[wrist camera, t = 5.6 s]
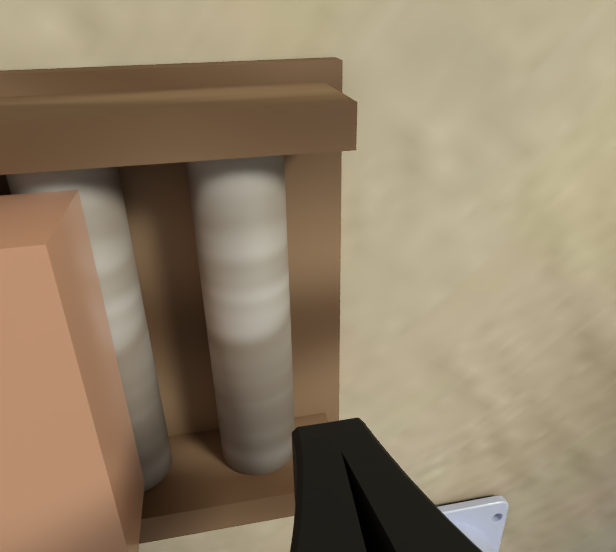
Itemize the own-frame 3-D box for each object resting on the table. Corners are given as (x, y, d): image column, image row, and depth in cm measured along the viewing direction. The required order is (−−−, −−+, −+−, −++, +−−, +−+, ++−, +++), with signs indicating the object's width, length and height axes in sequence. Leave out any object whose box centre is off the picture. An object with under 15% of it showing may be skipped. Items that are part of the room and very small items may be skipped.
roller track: (333, 426, 21) (393, 606, 14) (-198, 509, 18) (-404, 779, 12) (335, 57, 14) (441, 99, 8) (-479, 89, 11) (-1235, 190, 5)
